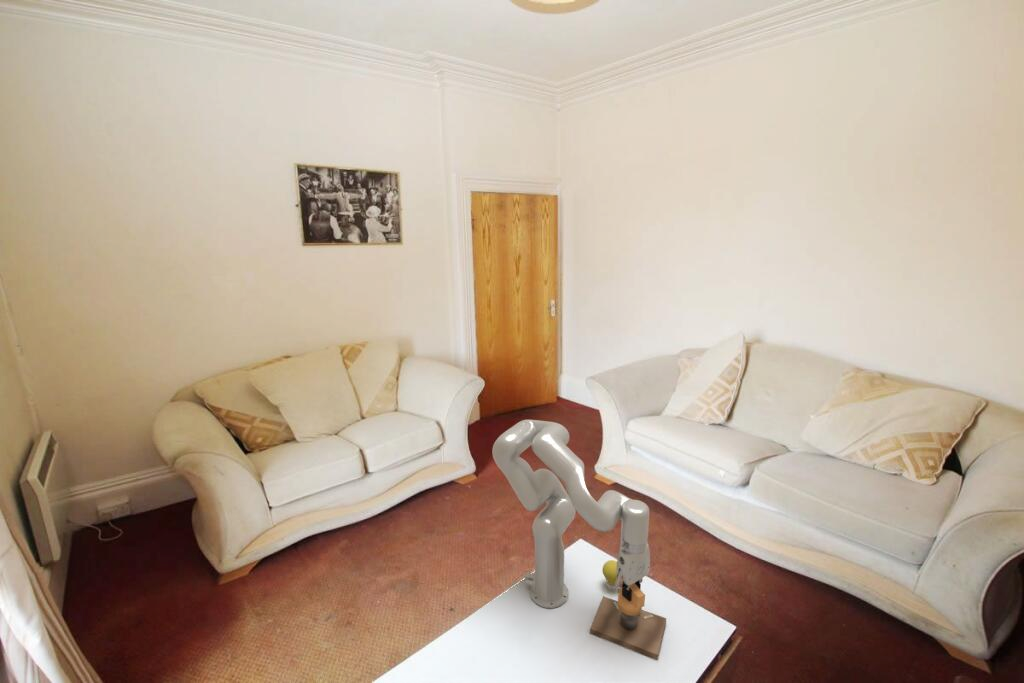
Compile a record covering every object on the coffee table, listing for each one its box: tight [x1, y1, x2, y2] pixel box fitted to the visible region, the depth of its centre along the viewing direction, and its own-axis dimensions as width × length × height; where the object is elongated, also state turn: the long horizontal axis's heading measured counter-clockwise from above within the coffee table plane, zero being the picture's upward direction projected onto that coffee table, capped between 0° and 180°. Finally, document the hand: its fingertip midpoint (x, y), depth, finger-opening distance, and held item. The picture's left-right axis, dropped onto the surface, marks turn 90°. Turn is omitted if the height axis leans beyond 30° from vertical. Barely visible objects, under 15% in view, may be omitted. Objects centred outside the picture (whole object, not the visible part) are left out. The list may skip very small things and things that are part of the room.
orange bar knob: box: [616, 583, 646, 616], centre depth 141 cm, size 11×7×8 cm, turn 23°
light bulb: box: [602, 559, 617, 591], centre depth 159 cm, size 7×7×10 cm
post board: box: [589, 595, 667, 661], centre depth 143 cm, size 20×14×8 cm
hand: (630, 594), depth 140 cm, fingers closed on orange bar knob, 3 cm apart
